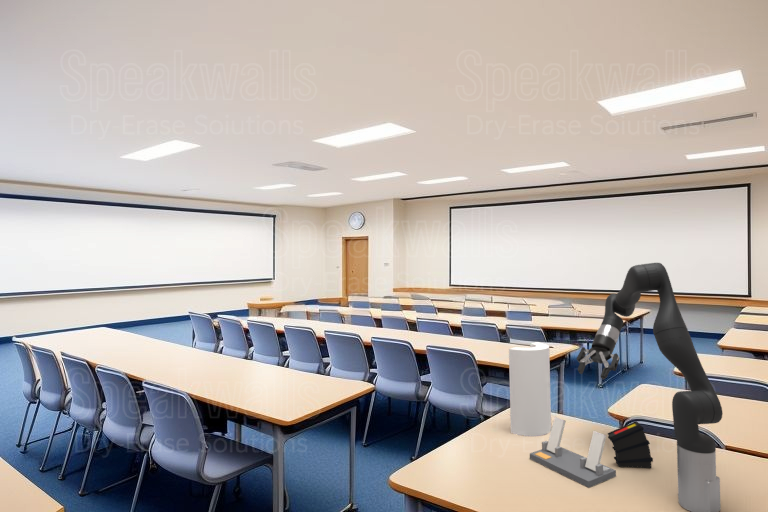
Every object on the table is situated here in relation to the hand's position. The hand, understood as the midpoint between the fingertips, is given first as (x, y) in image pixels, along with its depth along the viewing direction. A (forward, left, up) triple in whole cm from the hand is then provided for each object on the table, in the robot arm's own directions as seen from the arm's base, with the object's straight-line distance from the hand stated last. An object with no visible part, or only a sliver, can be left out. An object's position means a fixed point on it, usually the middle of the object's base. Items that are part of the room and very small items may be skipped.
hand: (591, 375), depth 166 cm
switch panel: (-3, +16, -29) cm, 33 cm away
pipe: (+27, 0, -29) cm, 39 cm away
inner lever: (-11, +16, -26) cm, 33 cm away
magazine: (-13, -2, -29) cm, 32 cm away
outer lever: (+5, +16, -26) cm, 31 cm away
